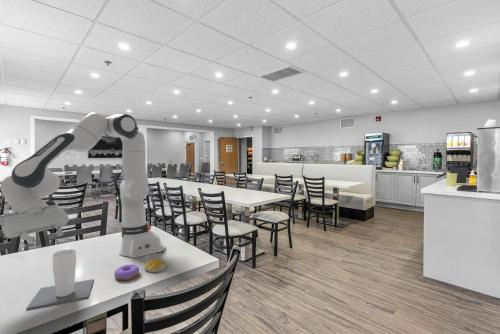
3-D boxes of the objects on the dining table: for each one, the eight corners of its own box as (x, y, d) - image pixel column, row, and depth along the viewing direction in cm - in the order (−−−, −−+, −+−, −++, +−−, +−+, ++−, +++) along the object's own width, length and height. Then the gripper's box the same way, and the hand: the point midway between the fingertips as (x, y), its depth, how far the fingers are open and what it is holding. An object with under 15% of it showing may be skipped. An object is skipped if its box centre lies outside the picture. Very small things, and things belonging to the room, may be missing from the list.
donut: (115, 272, 108) (117, 261, 108) (138, 273, 111) (140, 262, 112) (111, 282, 99) (114, 270, 99) (136, 283, 102) (139, 272, 102)
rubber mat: (93, 280, 101) (93, 279, 101) (88, 298, 88) (88, 296, 88) (40, 289, 94) (40, 288, 94) (26, 310, 81) (26, 308, 81)
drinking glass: (81, 291, 92) (80, 250, 91) (61, 300, 86) (60, 257, 85) (68, 287, 94) (68, 248, 94) (48, 296, 88) (47, 254, 88)
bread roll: (156, 263, 118) (156, 255, 118) (169, 268, 114) (169, 259, 113) (140, 270, 111) (140, 261, 111) (153, 275, 107) (153, 265, 106)
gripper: (-2, 210, 86) (17, 241, 83) (61, 201, 106) (77, 226, 103) (-9, 222, 88) (9, 253, 85) (54, 210, 107) (70, 235, 104)
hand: (47, 238), depth 94 cm, fingers open, 8 cm apart
